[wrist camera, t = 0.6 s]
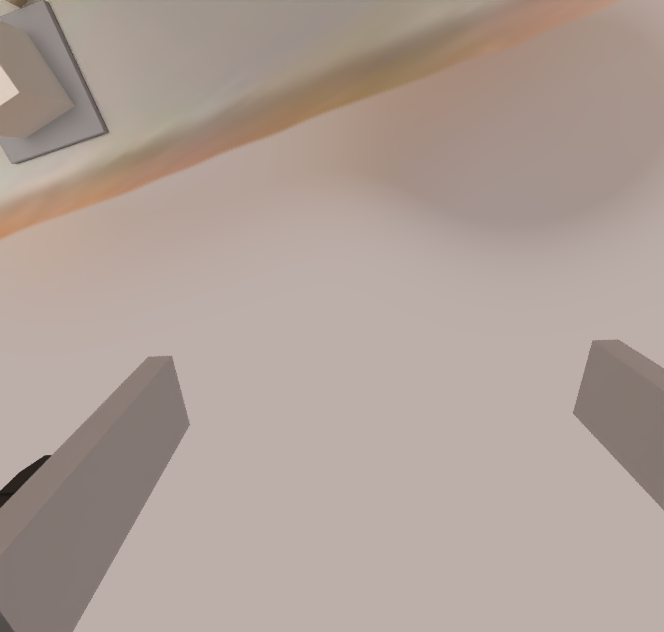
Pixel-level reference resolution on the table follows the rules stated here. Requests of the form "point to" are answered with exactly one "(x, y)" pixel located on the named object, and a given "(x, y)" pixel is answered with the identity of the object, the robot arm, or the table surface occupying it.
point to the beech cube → (17, 2)
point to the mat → (59, 58)
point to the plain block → (26, 86)
